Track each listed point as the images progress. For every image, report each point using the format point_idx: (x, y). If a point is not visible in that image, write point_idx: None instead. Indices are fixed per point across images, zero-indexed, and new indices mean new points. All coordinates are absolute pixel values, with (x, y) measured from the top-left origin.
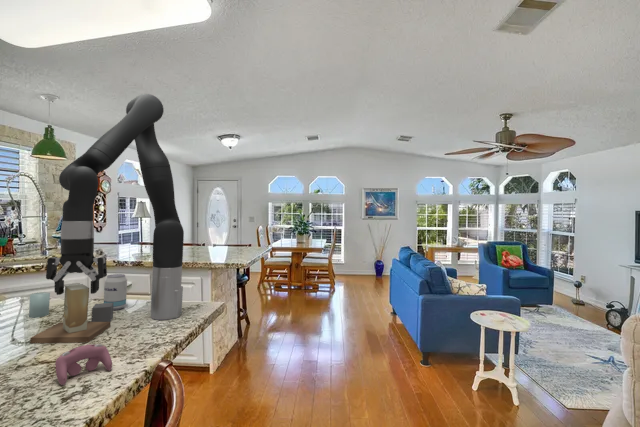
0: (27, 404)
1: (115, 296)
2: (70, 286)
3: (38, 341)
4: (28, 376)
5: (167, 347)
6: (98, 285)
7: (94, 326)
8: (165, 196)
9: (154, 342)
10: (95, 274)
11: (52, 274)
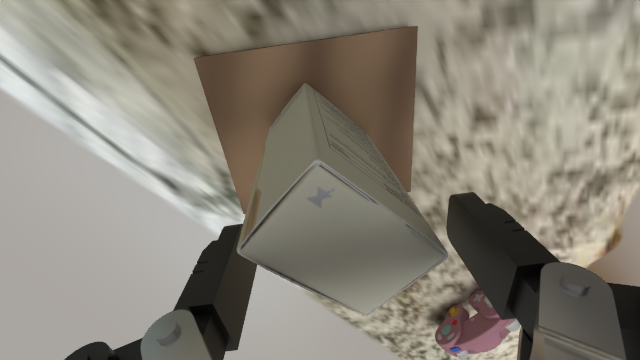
0: (428, 356)
1: None
2: (292, 260)
3: None
4: (378, 314)
5: (627, 193)
6: (522, 237)
7: (377, 97)
8: None
9: (594, 166)
10: (581, 331)
11: None
